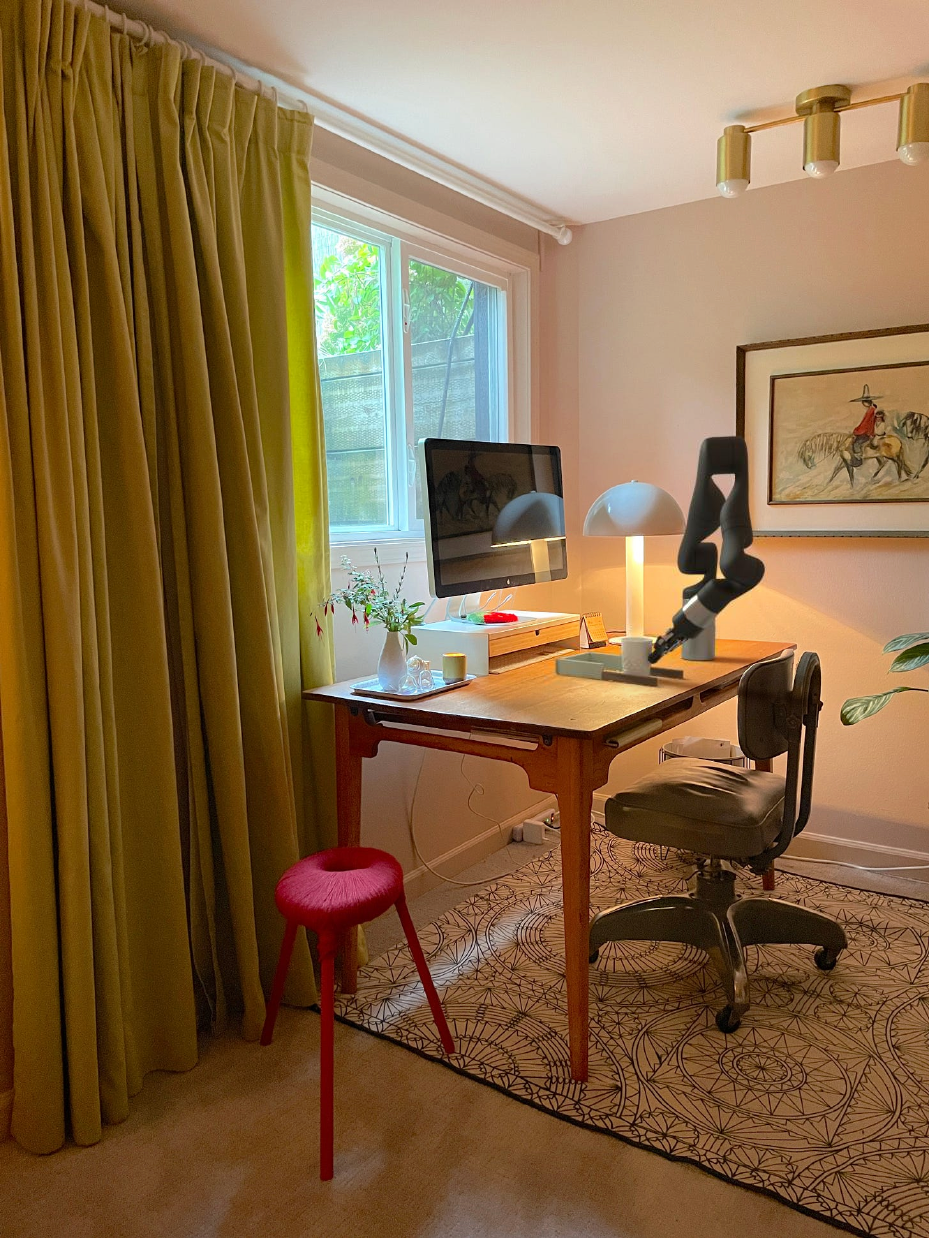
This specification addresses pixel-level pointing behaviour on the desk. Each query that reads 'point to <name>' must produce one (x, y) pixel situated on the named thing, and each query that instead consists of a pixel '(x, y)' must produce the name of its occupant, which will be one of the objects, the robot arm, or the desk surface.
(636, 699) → the desk surface
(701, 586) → the robot arm
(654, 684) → the channel
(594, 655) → the tray
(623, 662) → the white cup
